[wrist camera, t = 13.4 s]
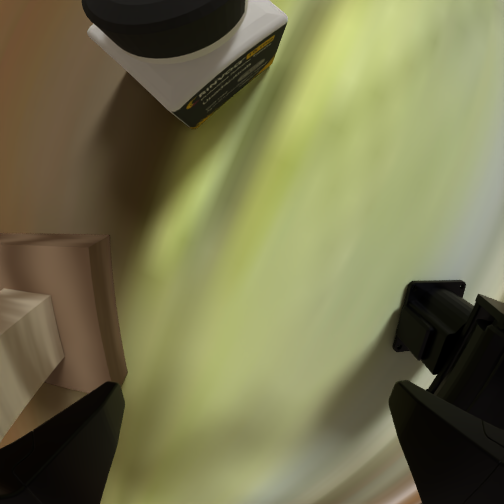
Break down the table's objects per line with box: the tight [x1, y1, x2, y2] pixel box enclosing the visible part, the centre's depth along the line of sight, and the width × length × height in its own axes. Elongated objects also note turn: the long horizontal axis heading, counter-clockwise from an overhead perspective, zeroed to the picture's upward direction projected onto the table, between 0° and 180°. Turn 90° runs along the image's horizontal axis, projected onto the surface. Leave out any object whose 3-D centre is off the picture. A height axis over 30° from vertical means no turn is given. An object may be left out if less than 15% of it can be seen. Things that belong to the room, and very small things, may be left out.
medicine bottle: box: [82, 0, 288, 129], centre depth 11 cm, size 7×7×12 cm
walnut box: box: [0, 233, 128, 393], centre depth 20 cm, size 12×12×4 cm
